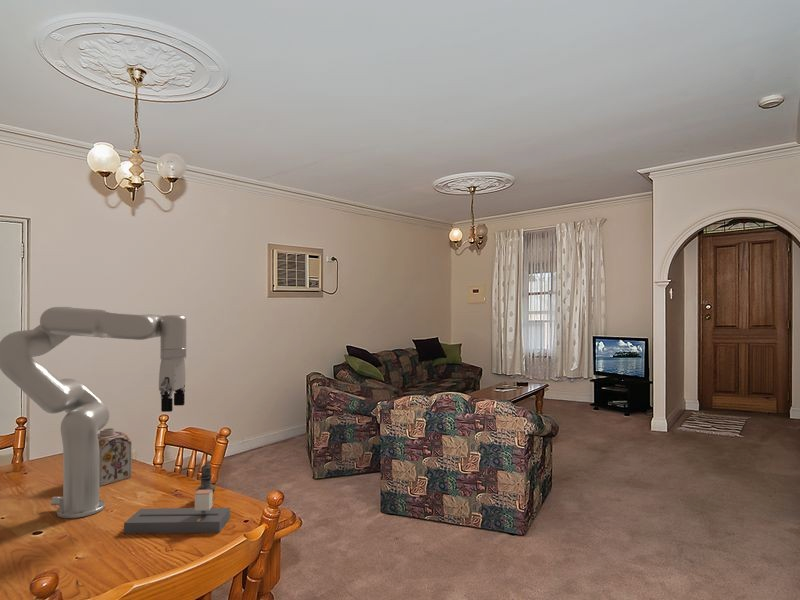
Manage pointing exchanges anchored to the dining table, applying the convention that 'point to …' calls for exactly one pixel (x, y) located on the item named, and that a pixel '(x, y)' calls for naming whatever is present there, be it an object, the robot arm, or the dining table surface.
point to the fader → (203, 500)
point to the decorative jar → (114, 456)
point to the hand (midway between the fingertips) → (173, 408)
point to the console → (177, 521)
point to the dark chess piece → (206, 479)
